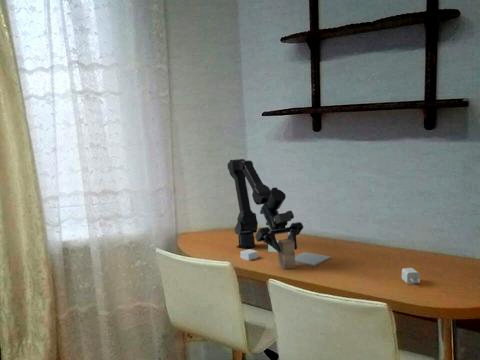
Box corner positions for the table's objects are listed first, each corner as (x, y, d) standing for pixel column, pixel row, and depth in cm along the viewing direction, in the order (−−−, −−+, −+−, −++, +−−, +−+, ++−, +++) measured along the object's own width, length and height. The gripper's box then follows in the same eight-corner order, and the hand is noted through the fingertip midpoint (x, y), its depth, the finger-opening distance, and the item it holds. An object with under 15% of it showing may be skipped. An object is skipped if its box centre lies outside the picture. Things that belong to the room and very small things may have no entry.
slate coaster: (287, 260, 172) (287, 259, 172) (305, 253, 181) (305, 251, 181) (313, 266, 164) (313, 264, 164) (330, 258, 173) (330, 256, 172)
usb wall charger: (413, 279, 146) (413, 267, 146) (422, 286, 139) (423, 274, 139) (401, 279, 146) (401, 268, 146) (410, 287, 139) (410, 275, 139)
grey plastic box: (240, 258, 178) (240, 251, 178) (249, 256, 181) (249, 249, 181) (248, 261, 174) (248, 254, 174) (257, 258, 177) (257, 251, 177)
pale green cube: (268, 251, 186) (267, 242, 185) (271, 249, 189) (270, 240, 189) (277, 252, 184) (277, 243, 184) (280, 249, 188) (279, 240, 187)
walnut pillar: (278, 266, 166) (277, 240, 164) (288, 264, 168) (288, 238, 166) (284, 269, 162) (284, 243, 160) (295, 267, 164) (294, 241, 162)
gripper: (257, 207, 161) (273, 242, 153) (300, 201, 169) (317, 235, 161) (248, 224, 169) (263, 259, 161) (289, 218, 177) (306, 250, 169)
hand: (288, 250), depth 163 cm, fingers open, 7 cm apart
